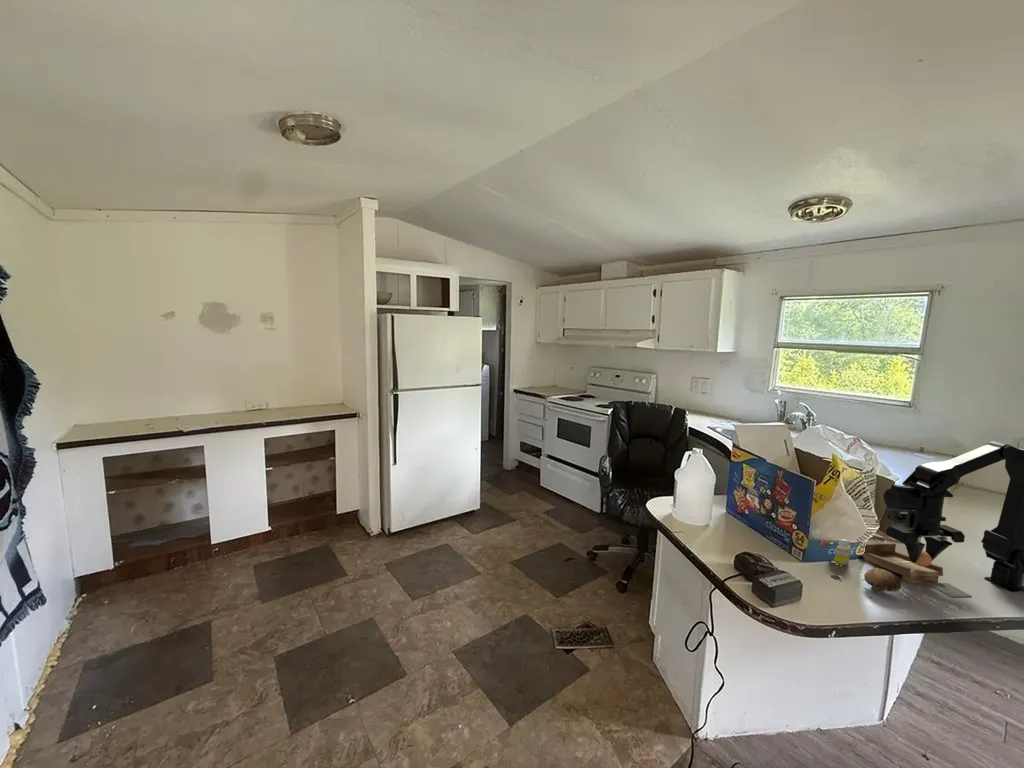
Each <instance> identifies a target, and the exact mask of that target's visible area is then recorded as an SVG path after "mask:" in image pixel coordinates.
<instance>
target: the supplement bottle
mask: <svg viewBox="0 0 1024 768" xmlns="http://www.w3.org/2000/svg"><path fill="white" fill-rule="evenodd" d="M850 541H851V540H846V539H841V540H840V539H839V542H838V544H839V545H838V546H837V548H836V555H835V558H834V561H835V562H836V563H837V564H839V565H842V566H848V567H849V563H850V555H851V554H850V553H851V545H850V544H851V542H850Z"/></svg>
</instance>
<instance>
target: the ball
mask: <svg viewBox="0 0 1024 768" xmlns="http://www.w3.org/2000/svg"><path fill="white" fill-rule="evenodd" d="M932 562H933V561H932V559H931V556H930V555H929V554H928V553H927V552H926V550H922V552H921V554H920V556H919V558H918V560H917V561H916V563H915V564H917V565H919V566H928V565H930V564H931V563H932Z"/></svg>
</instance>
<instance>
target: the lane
mask: <svg viewBox="0 0 1024 768" xmlns="http://www.w3.org/2000/svg"><path fill="white" fill-rule="evenodd" d="M865 542H866V546H865V552H864V558H865V559H866V560H865V559H864V560H865V561H866V562H868V563H871V564H874V565H876V566H879V567H881V568H883V569H885V570H888V571H890V572H891V571H892V572H894V573H897V574H900V575H901V577H902V578H901V579H902V580H903V581H904V582H906V583H908V584H926V583H927V584H931V583H939V577H942V576H943V577H944V571H943V570H944V568H943V566H940V565H937V564H934V563H932V562H931V564H930V565H928V566H919V565H917V564H915V563H913V562H911V561H910V558H909V555H907V554H904V553H902V552H898V551H896V547H897V544H896V543H895V542H893V541H871V542H869V541H868V542H867V541H865Z"/></svg>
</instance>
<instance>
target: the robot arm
mask: <svg viewBox="0 0 1024 768" xmlns="http://www.w3.org/2000/svg"><path fill="white" fill-rule="evenodd" d="M1003 460H1004V461H1005V464H1004V468H1005V470H1006V472H1007V474H1008V477H1009V482H1008V486H1007V490H1006V494H1005V497H1004V501H1003V503H1002V507H1001V512H1000V515H999V519H998V522H997V523H998V524H997V526H996V527H994V528H993V529H991V530H990V529H989V530H988V529H985V530H984V531H983V537H982V539H981V541H980V543H982V549H984V551H985V556H986V558H988V559H991V560H993V565H992V568H991V572H990V573H991V574H990V576H985V577H983V579H984V580H986V581H988V582H990V583H992V584H993V583H994V585H995V584H996V585H995V586H998V587H1000V588H1002V589H1004V590H1006V591H1007V592H1010V591H1011V592H1013V593H1014V592H1015V593H1017V592H1019V591H1022V592H1024V447H1015V446H1012V445H1011V444H1007V443H1003V442H998V441H994V440H993V441H988V442H986V443H985V445H983V446H980V447H977V448H975V449H973V450H971V451H968V452H965V453H962V454H960V455H958V456H955V457H953V458H950V459H948V460H944V461H931V462H927V463H923V464H919V465H917V466H916V467H915V470H913V471H912V473H911V474H910V475H909V476H908V477H907V478H906V479H905V480H904V481H903V482H902V485H900V484H891V486H890V488H887V489H886V490H885V492H884V493H883V501H884V504H885V506H887V507H888V508H889V509H888V510H887V515H886V516H887V519H888V520H889V521H891V522H892V523H893V524H902V525H903V524H904V526H905V527H904V526H901V525H888V526H886V527H885V535H886V536H888V537H890V538H892V539H894V540H896V541H898V542H900V543H902V544H904V545H905V548H906V551H907V554H908V556H909V558H910V561H911V562H913V563H916V561H917V560H918V558H919V556H920V554H921V552H922V551H924V548H925V552H927V553H928V554H929V555H930V556H931V559H932V562H933V561H934V560H935V559H936V558H937V557H938V556H939V555H940V554H941V553H942V552H944V551H945V550H946V549H947V548H949V547H950V546H952V545H953V542H954V543H955V544H956V543H964V542H965V537H966V535H964V533H963V531H961V530H959V529H956V528H953V527H951V526H949V525H946V524H941V523H942V522H946V520H947V517H945V516H943V511H944V510H943V509H944V505H945V504H944V503H945V498H953V497H954V495H953V493H952V492H950V491H949V489H951V488H952V487H953V486H955V485H957V484H959V481H960V480H961V478H963V477H964V476H966V475H968V474H969V475H970V474H971V473H974V472H977V471H979V470H981V469H984V468H986V467H989V466H991V465H993V464H996V463H998V462H1001V461H1003ZM899 510H904V511H907V512H904V511H902V512H901V511H899ZM908 528H909V529H908ZM948 537H950V539H951V541H952V542H950V541H948ZM922 538H923V539H924V540H925V543H923V542H922ZM1011 592H1010V593H1011Z"/></svg>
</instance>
